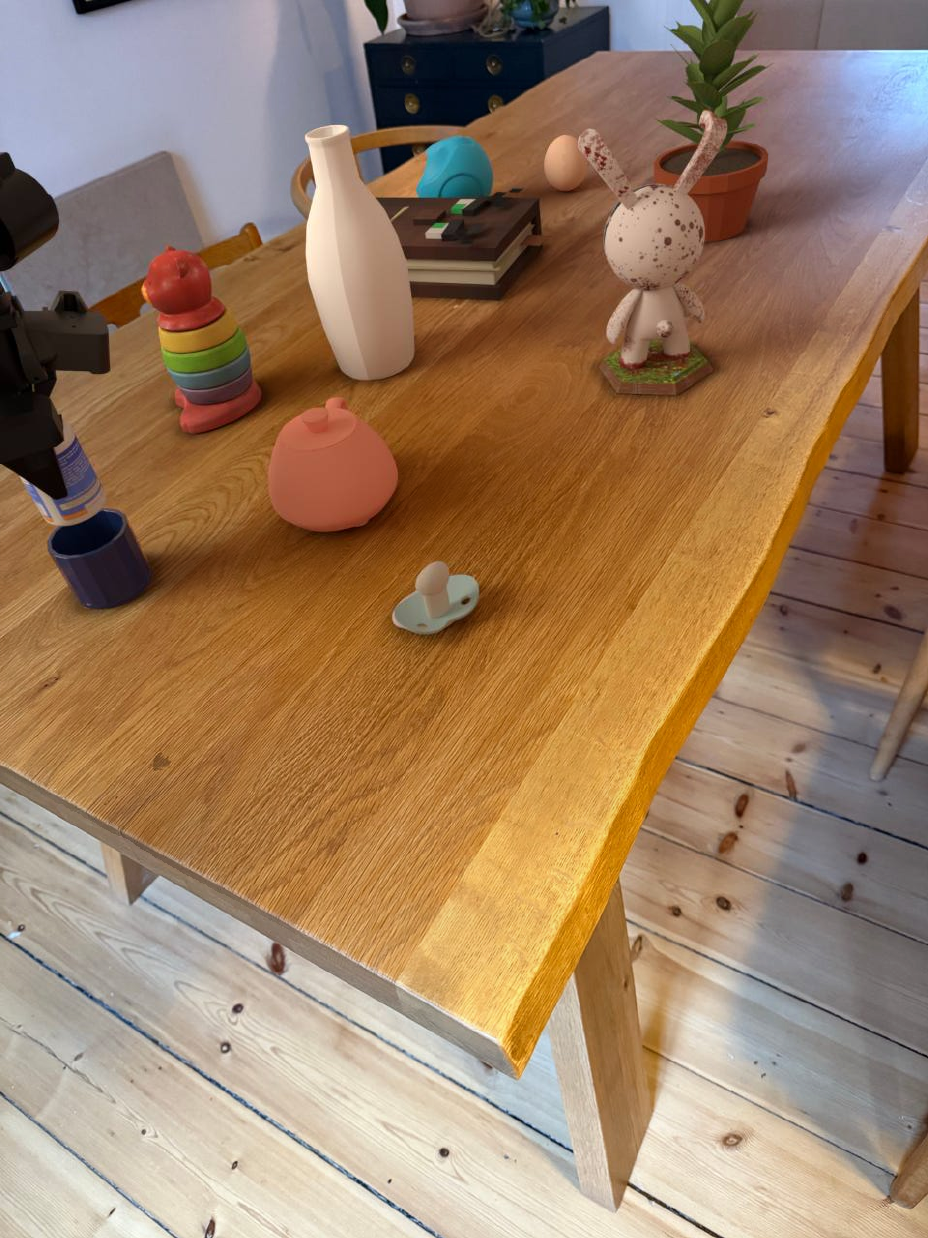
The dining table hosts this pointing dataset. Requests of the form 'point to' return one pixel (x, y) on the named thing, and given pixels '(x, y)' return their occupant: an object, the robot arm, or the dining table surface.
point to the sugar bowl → (330, 470)
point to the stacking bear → (199, 343)
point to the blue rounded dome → (456, 170)
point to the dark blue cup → (101, 559)
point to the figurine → (654, 269)
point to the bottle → (356, 265)
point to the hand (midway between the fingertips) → (59, 480)
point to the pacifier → (436, 600)
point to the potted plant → (736, 163)
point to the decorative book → (466, 242)
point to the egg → (565, 163)
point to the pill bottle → (71, 486)
